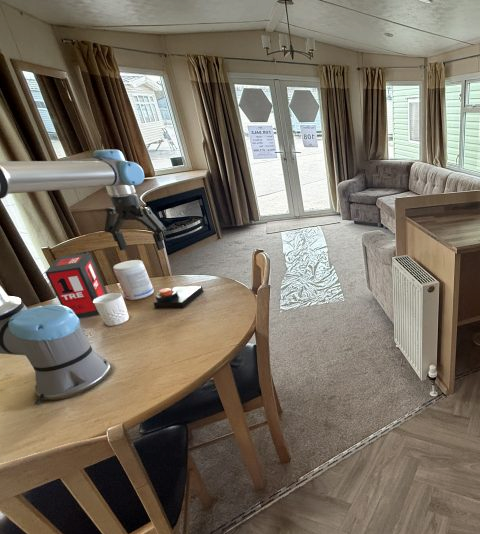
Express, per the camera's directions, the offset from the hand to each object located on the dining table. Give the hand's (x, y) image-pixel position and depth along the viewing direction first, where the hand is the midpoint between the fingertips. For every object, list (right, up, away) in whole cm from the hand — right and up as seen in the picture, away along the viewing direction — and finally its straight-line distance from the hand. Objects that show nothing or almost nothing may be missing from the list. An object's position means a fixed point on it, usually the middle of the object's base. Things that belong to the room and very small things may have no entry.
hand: (142, 249), depth 131 cm
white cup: (-6, -28, -4) cm, 29 cm away
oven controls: (+6, -21, +12) cm, 24 cm away
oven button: (+4, -18, +7) cm, 20 cm away
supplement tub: (-13, -19, +14) cm, 27 cm away
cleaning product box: (-25, -23, +4) cm, 34 cm away
